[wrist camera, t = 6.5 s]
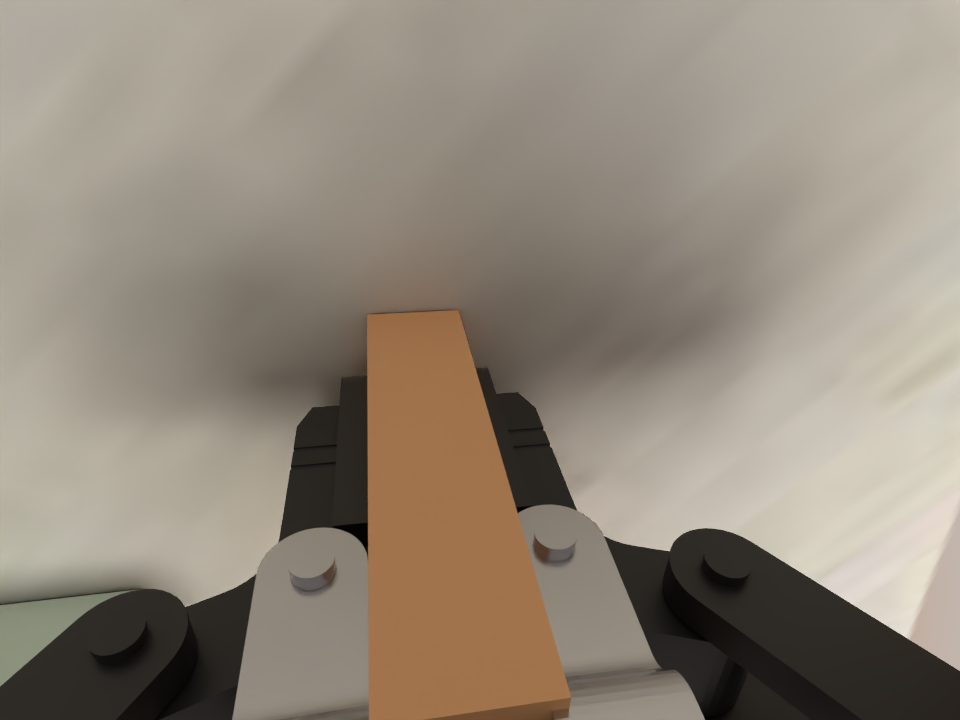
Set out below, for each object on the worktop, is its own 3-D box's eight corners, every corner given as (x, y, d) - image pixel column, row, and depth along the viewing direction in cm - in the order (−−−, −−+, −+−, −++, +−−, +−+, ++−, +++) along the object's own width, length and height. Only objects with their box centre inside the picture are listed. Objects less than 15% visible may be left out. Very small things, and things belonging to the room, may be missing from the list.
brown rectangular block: (367, 314, 11) (368, 727, 5) (458, 309, 11) (571, 697, 5) (394, 660, 16) (412, 1064, 10) (456, 652, 16) (509, 1042, 10)
